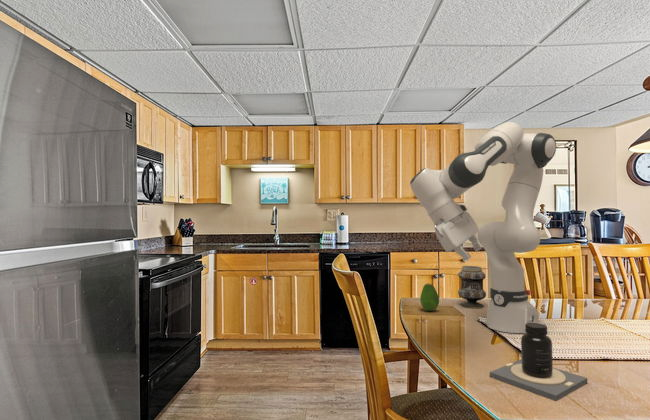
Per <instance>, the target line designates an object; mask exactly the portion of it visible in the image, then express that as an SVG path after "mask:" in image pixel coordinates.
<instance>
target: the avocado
mask: <svg viewBox="0 0 650 420" xmlns="http://www.w3.org/2000/svg"><path fill="white" fill-rule="evenodd" d="M439 303H440V296H439V293H438V292H437V289H436V288H435V286H434V285H433V284H432V283H425V284H424V285H423V286H422V289H421V293H420V304H421V307H422V308H423V310H425V311H428V312H431V311H432V312H433V311H434V310H436V309H437V308H438V307H439Z"/></svg>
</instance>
